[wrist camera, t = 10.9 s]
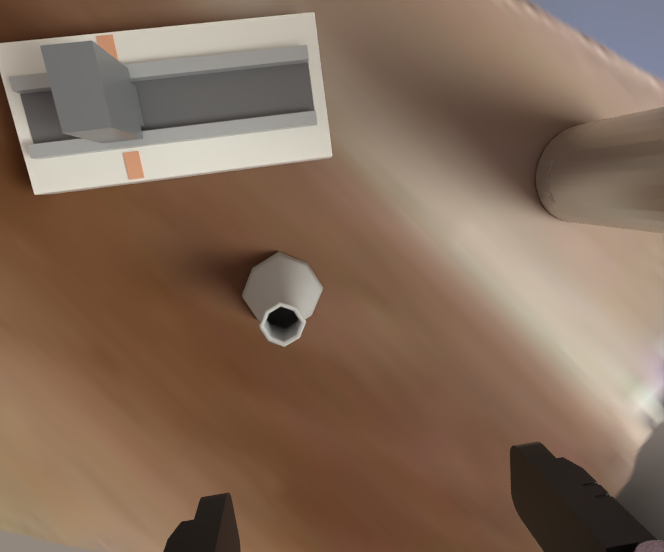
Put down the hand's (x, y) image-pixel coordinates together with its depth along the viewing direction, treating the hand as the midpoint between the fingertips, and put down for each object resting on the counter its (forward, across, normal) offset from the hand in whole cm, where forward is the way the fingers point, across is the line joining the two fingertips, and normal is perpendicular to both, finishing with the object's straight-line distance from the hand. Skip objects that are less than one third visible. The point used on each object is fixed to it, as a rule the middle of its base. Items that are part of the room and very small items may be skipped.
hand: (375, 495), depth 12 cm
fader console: (+29, +10, -16) cm, 34 cm away
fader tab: (+26, +13, -16) cm, 33 cm away
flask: (+29, +3, +1) cm, 29 cm away
